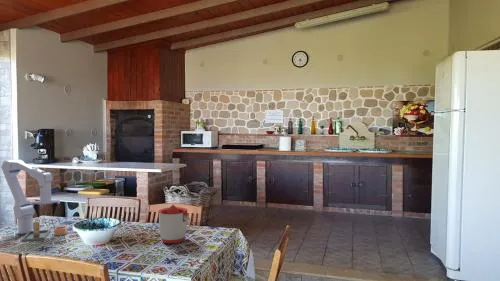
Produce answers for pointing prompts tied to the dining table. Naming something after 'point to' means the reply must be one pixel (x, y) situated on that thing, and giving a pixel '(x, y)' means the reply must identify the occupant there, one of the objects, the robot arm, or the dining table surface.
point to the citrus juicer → (173, 224)
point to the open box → (60, 230)
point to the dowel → (36, 229)
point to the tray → (30, 237)
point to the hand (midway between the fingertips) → (46, 216)
